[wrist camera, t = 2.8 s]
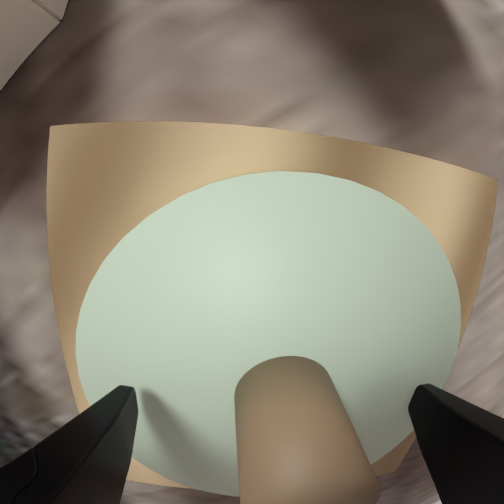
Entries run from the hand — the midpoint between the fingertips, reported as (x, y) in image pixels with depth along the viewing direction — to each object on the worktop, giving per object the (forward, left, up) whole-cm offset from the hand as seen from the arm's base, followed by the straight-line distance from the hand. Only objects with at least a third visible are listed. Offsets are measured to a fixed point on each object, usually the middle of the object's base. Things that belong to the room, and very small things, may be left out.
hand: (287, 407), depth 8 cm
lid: (0, 0, -2) cm, 2 cm away
